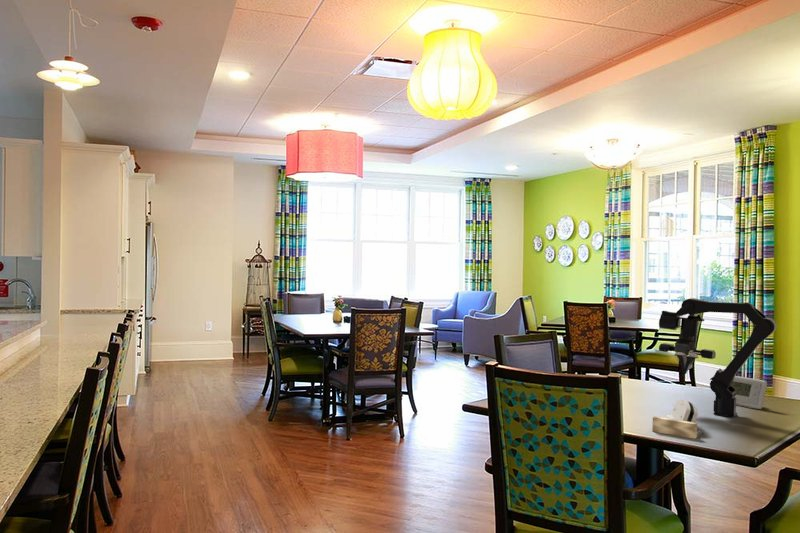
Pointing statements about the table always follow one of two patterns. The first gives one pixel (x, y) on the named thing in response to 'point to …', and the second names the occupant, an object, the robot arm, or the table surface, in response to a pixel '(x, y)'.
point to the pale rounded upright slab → (683, 411)
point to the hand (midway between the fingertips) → (684, 374)
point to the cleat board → (676, 427)
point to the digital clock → (749, 392)
